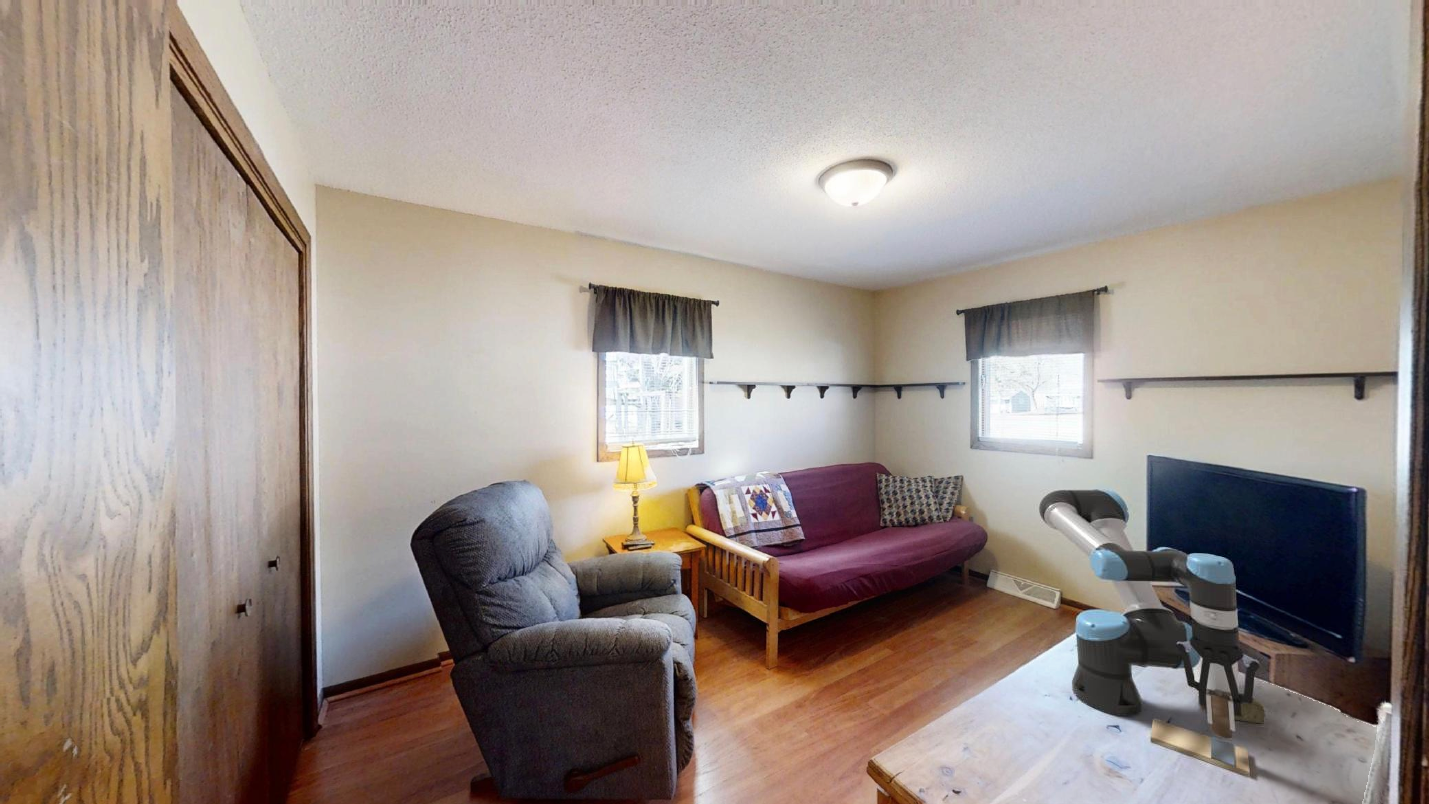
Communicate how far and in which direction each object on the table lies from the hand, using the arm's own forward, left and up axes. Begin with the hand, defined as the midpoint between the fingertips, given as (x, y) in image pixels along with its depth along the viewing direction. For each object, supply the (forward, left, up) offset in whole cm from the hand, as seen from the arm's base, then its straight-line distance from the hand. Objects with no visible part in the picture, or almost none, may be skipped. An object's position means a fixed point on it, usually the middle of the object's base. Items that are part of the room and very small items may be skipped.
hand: (1221, 723), depth 108 cm
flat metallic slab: (-4, +12, -8) cm, 15 cm away
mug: (0, +36, -8) cm, 37 cm away
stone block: (+1, +22, -8) cm, 24 cm away
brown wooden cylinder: (0, 0, -2) cm, 2 cm away
